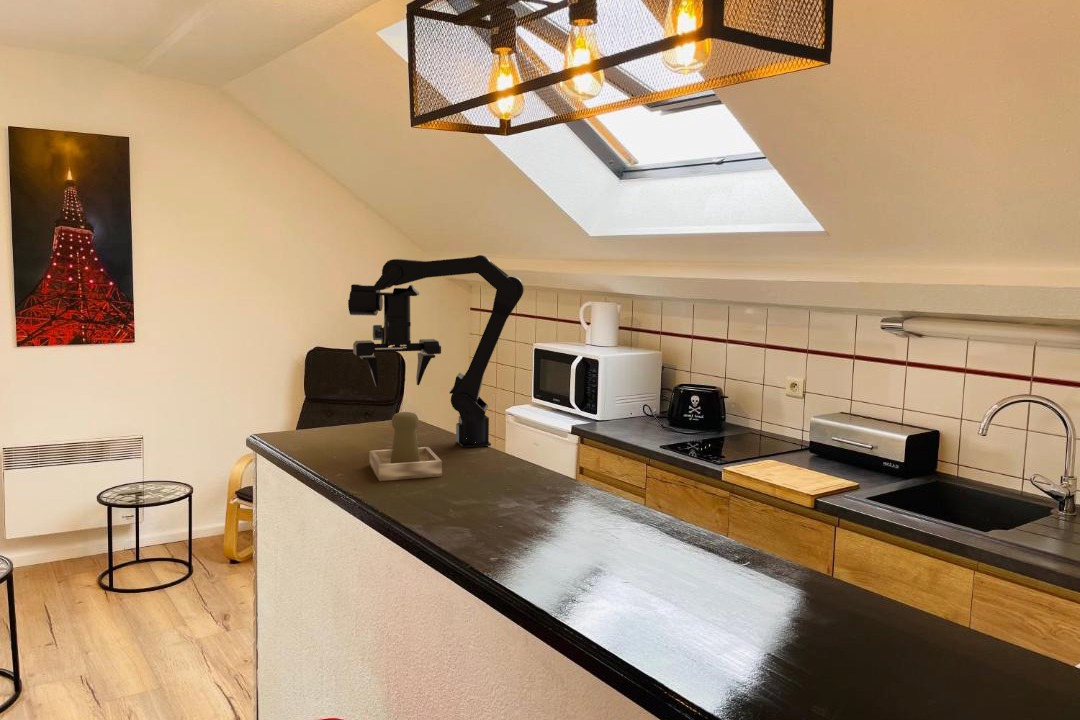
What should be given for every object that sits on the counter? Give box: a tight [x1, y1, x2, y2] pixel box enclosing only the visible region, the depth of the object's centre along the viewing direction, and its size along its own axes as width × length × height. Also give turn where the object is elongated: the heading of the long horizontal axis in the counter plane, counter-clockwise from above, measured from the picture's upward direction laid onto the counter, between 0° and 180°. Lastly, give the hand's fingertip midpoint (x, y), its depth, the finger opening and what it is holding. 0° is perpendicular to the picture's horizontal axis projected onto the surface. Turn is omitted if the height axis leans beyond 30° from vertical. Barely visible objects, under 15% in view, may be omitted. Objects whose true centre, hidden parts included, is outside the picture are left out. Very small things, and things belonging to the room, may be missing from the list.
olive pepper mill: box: [390, 411, 420, 464], centre depth 165 cm, size 6×6×11 cm
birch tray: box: [369, 446, 443, 482], centre depth 166 cm, size 12×12×3 cm
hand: (397, 385), depth 187 cm, fingers open, 9 cm apart
